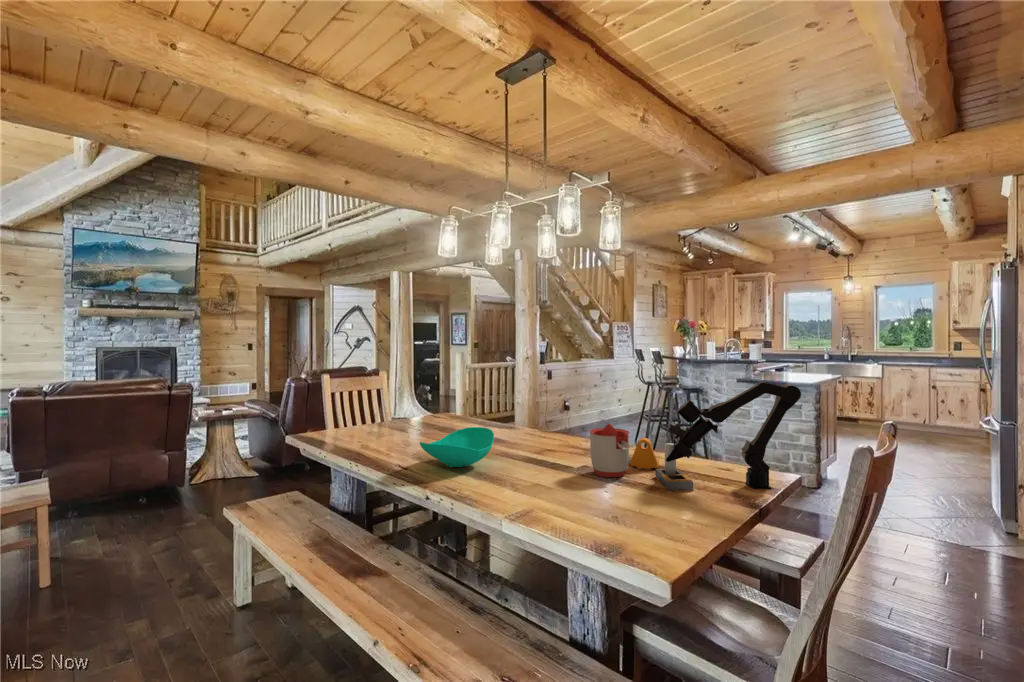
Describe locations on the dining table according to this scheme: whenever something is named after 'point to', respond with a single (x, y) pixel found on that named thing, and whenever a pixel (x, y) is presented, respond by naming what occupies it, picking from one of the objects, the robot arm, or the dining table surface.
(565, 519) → the dining table surface
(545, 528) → the dining table surface
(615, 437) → the citrus juicer
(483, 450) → the table top decor
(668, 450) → the peg
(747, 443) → the robot arm
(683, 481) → the grey boxy holed piece
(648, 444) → the bracket
